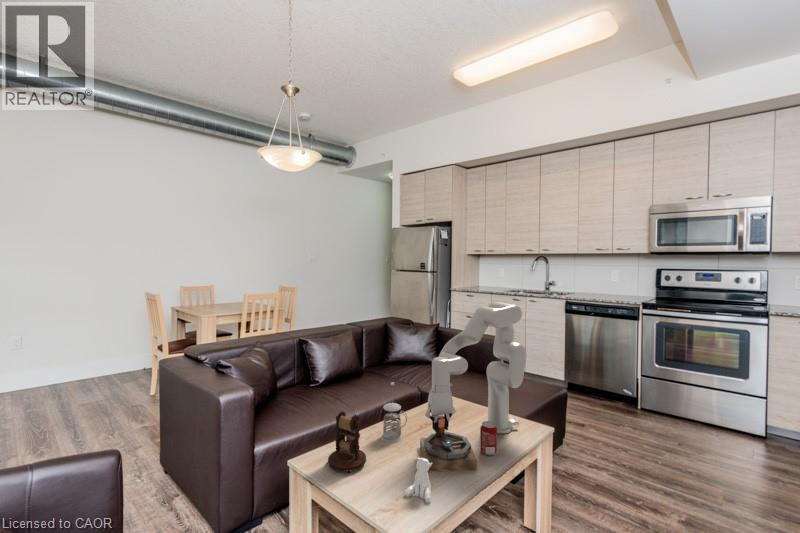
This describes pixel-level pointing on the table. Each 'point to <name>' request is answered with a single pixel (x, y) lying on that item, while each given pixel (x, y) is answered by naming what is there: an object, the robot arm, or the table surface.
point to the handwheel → (446, 442)
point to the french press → (395, 430)
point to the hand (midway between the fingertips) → (440, 429)
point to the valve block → (449, 464)
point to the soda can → (488, 438)
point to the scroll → (347, 445)
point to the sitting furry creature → (421, 481)
